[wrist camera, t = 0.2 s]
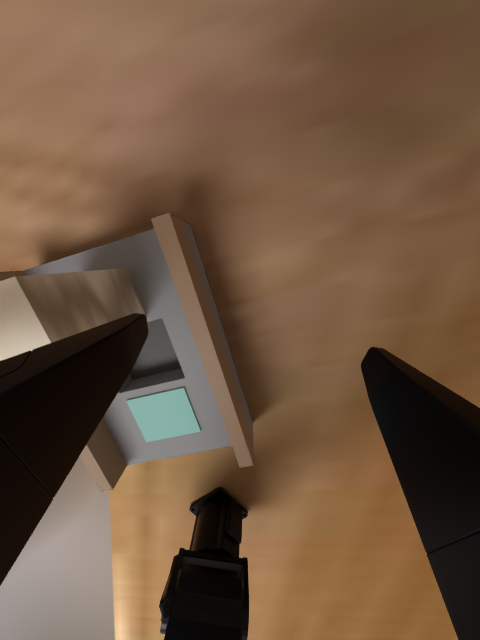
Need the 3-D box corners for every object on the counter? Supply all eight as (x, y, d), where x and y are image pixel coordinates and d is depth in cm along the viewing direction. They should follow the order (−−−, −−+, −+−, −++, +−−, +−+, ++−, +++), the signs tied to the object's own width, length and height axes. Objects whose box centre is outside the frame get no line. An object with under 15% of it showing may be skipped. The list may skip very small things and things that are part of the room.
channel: (252, 423, 28) (253, 465, 22) (129, 447, 30) (100, 491, 24) (190, 224, 22) (169, 212, 16) (39, 273, 24) (-28, 277, 18)
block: (146, 317, 21) (63, 364, 12) (102, 329, 22) (-11, 383, 12) (126, 268, 20) (14, 276, 11) (80, 282, 21) (-66, 302, 11)
